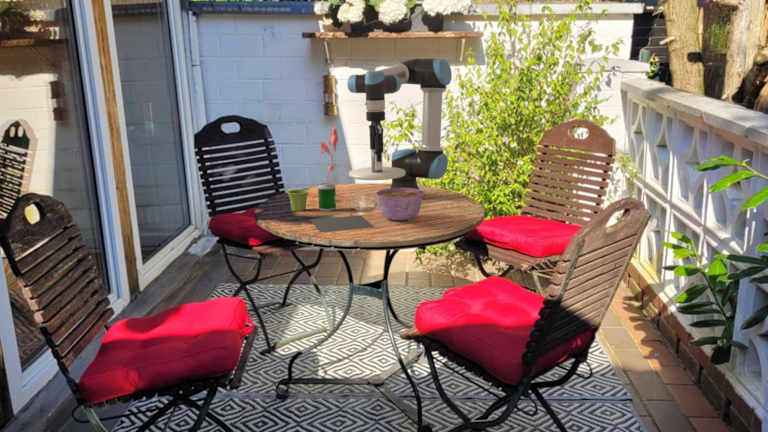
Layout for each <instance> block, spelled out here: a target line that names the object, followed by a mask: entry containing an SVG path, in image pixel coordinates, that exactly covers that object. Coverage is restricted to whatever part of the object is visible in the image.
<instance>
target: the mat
mask: <svg viewBox="0 0 768 432" xmlns="http://www.w3.org/2000/svg"><path fill="white" fill-rule="evenodd" d="M309 221H310V222H311V223H312V224H313V226H314V227H315V228H316V229H317V230H318V231H319V232H320V233H326V232H327V233H328V232H337V231H338V232H339V231H348V230H350V231H351V230H357V229H358V230H362V229H371V228H375V226H374V225H373V224H371V223H370V221H368V220H367V218H365V217H364V216H362V215H361V214H359V215H358V214H356V215H350V216H348V215H346V216H335V217H334V216H333V217H325V218H324V217H323V218H312V219H311V218H310V219H309Z"/></svg>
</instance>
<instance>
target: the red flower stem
mask: <svg viewBox="0 0 768 432" xmlns="http://www.w3.org/2000/svg"><path fill="white" fill-rule="evenodd" d="M330 137H331V138H330ZM319 143H320V150H321V152H320V154H321V156H323V155H324V152H325V153H326V154H328V155H330V156H331V162H330V163H331V165H328V168H327V169H328V171H327V175H326V180H327V182H326V183H331V180H330V173H331V172H333V170H334V169H335V168H334V165H333V161H334V158H333V157H334V155H333V154H332V153H331V150H330V148H329V144H330V143H332V144H331V145H332V151H333V152H336V147H337V145H338V144H339V135H338V131H337V126H336V124H333V129H332V133H331V132H330V133H329V135H328V140H327V143H324V142H322V141H319ZM345 195H347V196H348V194H347V193H346V194H345Z"/></svg>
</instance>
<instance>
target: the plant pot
mask: <svg viewBox="0 0 768 432" xmlns="http://www.w3.org/2000/svg"><path fill="white" fill-rule="evenodd" d="M286 193H287V194H288V197H289V201H290V209H291V211H292V212H296V213H302V212H304V211H306V209H307V199H308V194H309V190H308V189H291V190H288V191H287V192H286Z"/></svg>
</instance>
